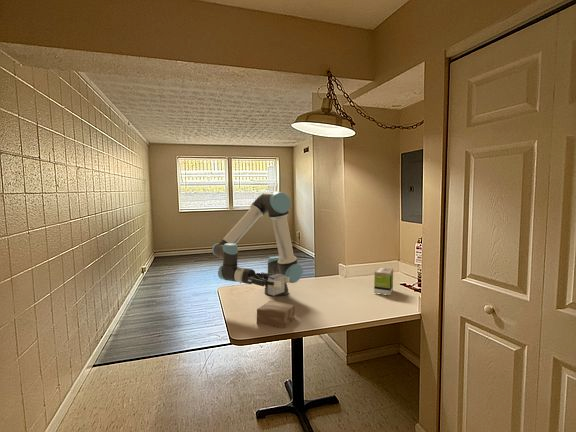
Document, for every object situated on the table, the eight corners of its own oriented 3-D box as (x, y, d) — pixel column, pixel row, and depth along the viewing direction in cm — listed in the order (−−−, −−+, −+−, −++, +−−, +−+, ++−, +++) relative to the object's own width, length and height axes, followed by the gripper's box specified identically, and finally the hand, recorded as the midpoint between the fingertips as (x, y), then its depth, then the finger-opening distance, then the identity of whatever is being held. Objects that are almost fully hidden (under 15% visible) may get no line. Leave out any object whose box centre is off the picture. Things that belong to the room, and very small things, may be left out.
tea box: (377, 288, 212) (378, 266, 211) (393, 290, 208) (394, 268, 207) (373, 294, 199) (374, 271, 198) (389, 296, 194) (390, 273, 193)
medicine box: (277, 290, 156) (278, 273, 156) (284, 292, 154) (285, 275, 153) (267, 293, 150) (267, 276, 150) (274, 295, 147) (274, 277, 147)
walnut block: (269, 313, 162) (269, 300, 162) (294, 318, 157) (294, 304, 156) (256, 323, 149) (256, 309, 149) (283, 329, 144) (283, 314, 143)
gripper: (256, 278, 169) (294, 284, 159) (233, 288, 150) (274, 295, 140) (256, 264, 169) (294, 270, 159) (233, 272, 150) (274, 279, 140)
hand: (284, 282), depth 150 cm, fingers closed on medicine box, 8 cm apart
